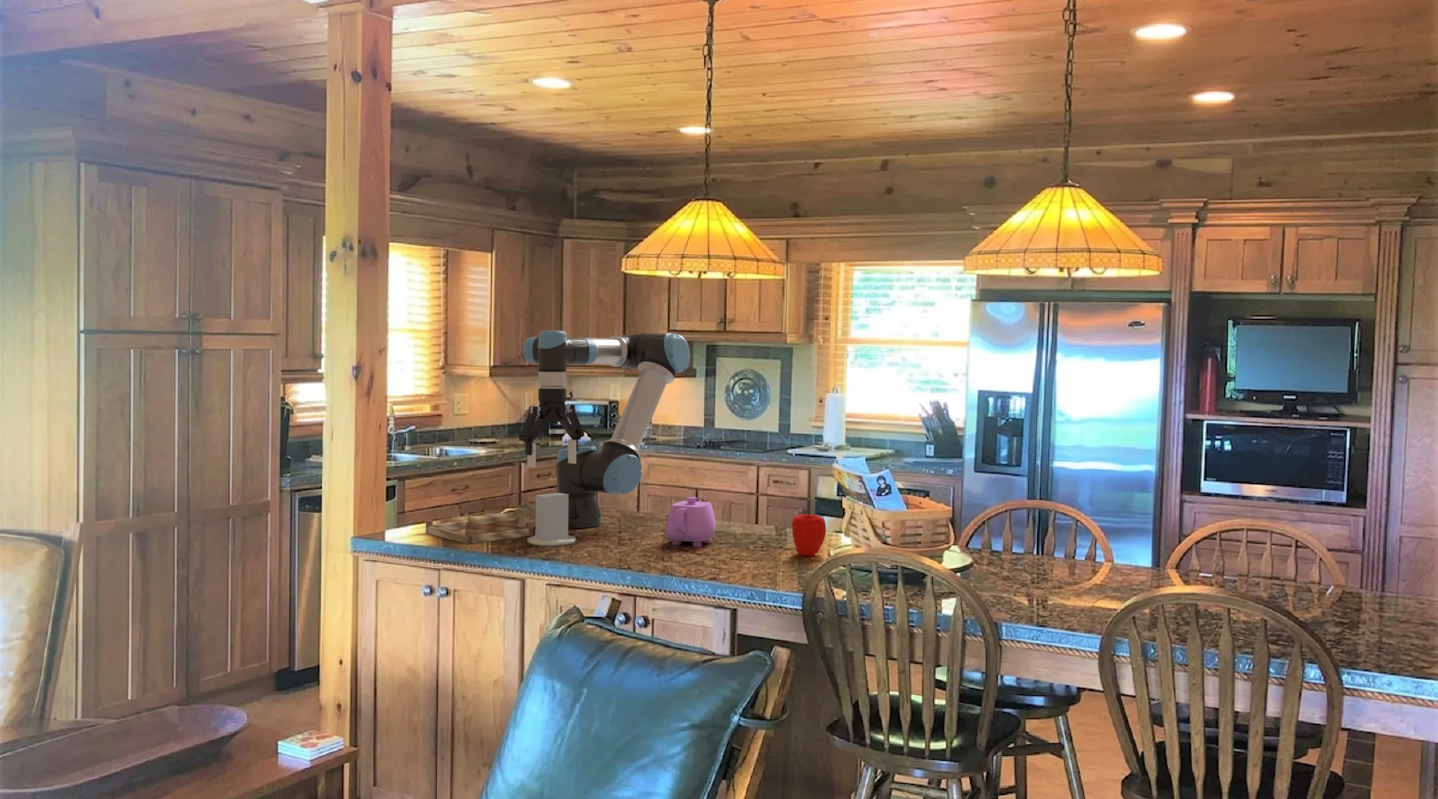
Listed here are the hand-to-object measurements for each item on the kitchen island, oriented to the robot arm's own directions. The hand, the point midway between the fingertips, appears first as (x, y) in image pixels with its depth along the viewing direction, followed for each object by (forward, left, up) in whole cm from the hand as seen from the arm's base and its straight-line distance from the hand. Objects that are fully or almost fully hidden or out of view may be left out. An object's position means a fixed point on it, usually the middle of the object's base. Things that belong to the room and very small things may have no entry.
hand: (552, 465), depth 314 cm
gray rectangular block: (0, 0, -20) cm, 20 cm away
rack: (+9, -22, -21) cm, 32 cm away
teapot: (-28, +26, -21) cm, 44 cm away
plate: (0, 0, -21) cm, 21 cm away
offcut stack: (+9, -15, -21) cm, 27 cm away
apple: (-40, +58, -21) cm, 74 cm away
